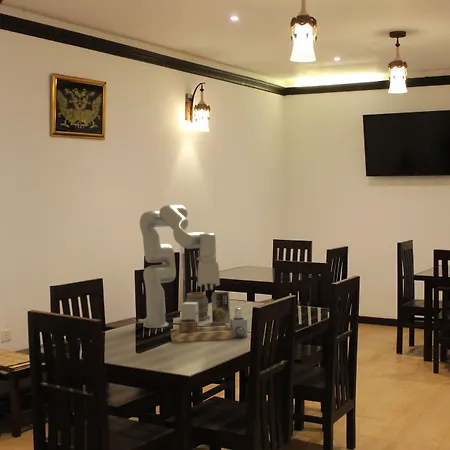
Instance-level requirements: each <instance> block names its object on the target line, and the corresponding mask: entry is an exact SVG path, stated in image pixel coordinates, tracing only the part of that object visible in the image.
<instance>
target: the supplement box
mask: <svg viewBox="0 0 450 450" xmlns="http://www.w3.org/2000/svg"><path fill="white" fill-rule="evenodd" d="M180 307H181V308H180V310H181V319H196V320H197V326H198V327H200V326H199V325H200V323H199V322H200V321H199V317H198V302H186V301H184V302H183V303H182V304H181V306H180Z"/></svg>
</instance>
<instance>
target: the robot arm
mask: <svg viewBox="0 0 450 450" xmlns="http://www.w3.org/2000/svg"><path fill="white" fill-rule="evenodd" d="M188 225H189V220H188V210H187V208H186V207H185V206H184V205H182V204H168V205H167V204H166V205H163V206H162V207H161V208H160V209H159V210H149V211H145V212H143V214H141V216H140V218H139V228H140V231H141V235H142V242H143V252H144V260H145V261H146V262H147V263H149V264H151V263H153V264H155V263H162V264H155V265H150V266H147V267H145V268H144V270H143V280H144V286H145V296H146V297H145V298H146V303H145V305H146V318H144V319H143V318H140V319H139V318H138V320H137V323H138V324H144V325H143V326H144V328H147V329H162V328H166V327H169V322H167V321H166V301H165V300H166V297H165V289H164V288H163V286H162V284H165V283H171V282H173V281H174V280H175V279H176V276H177V270H176V261H175V259H176V258H175V251H174V248H173V246H172V245H171V244H169V243H161V240H160V235H159V232H158V231H157V229H156V228H163V227H166V228H167V227H169V228H171V229H172V235H173V238H174V241H175V242H176V243H177V244H178V245H180V247H182V248H183V249H187V250H190V249H199V256H198V257H196V260H197V261H199V262H198V265H197V283H196V285H197V286H198V287H202V288H203V289H204V291H205V295H206V297H207V299H208V300H209V299H211V300H212V298H211V296H212V292H213V290H214V288H215V287H218V286H220V285H221V283H220V281H221V280H220V279H221V278H220V276H221V275H220V267H219V263H218V261H217V249H216V248H217V247H216V245H217V244H216V235H215V233H214V232H205V231H198V232H197V231H196V232H194V231H193V232H186V229H187V228H188ZM208 285H209V288H208Z"/></svg>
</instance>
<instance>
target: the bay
mask: <svg viewBox="0 0 450 450" xmlns="http://www.w3.org/2000/svg"><path fill="white" fill-rule="evenodd" d="M233 338H234V337H233V336H232V327H231V325H230V323H226V324H225V325H220V326H204V327H200V326H199V327H198V332H196V333H179V328H171V329H170V339H171V342H172V343H177V342H178V343H180V342H183V343H184V342H197V341H200V342H201V341H212V340H215V341H216V340H232V339H233Z"/></svg>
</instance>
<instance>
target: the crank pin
mask: <svg viewBox="0 0 450 450" xmlns="http://www.w3.org/2000/svg"><path fill="white" fill-rule="evenodd" d="M242 313H243V312H242V307H235V308H234V318H235V320H242V317H243V316H242Z"/></svg>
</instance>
